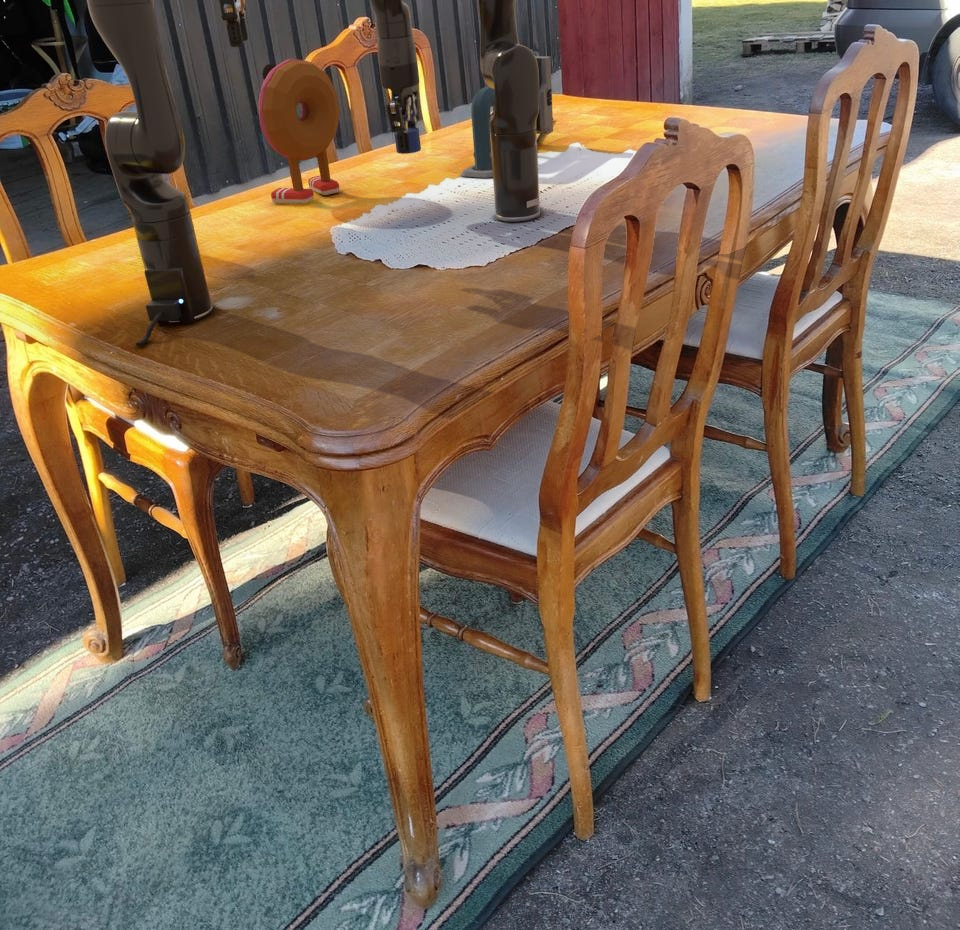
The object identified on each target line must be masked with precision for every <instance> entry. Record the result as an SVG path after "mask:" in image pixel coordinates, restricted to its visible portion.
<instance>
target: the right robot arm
mask: <svg viewBox="0 0 960 930" xmlns="http://www.w3.org/2000/svg"><path fill="white" fill-rule="evenodd" d="M369 3H370V6H371V9H372V12H373V14H374V15H373V16H374V25H375V32H376V39H377V41H376V42H377V57H378V65H379V73H380V80H381V81H380V82H381V86H382V88H383V89H386V90H390V91H391V93H390V94H391V97H390V102H387V103H386V105H385V106H386V111H387V115H388V116H387V117H388V120H389V124H390V131H391V133H393V134H394V133H395V134H397V140H398V148H399V152H401V153H404V152H409V151H410V145H409V137H408V127H416V128H417V126H418V121H420V106H419V91H418V89H413V87H416V86H418V85H419V84H420V75H419V65H418V57H417V47H416V43H415V39H414V38H415V37H414V33H413V24H412V15H411V11H410V7H409V5H408V4H407V3H406V2H404V1H403V0H369ZM477 6H478V7H477V8H478V15H479V65H480V66H479V67H480V73H481V76H482V79H483V80H484V82H485V84H486V86H489V87H490V88H492V89H493V90H494V91H495V111H494V114H493V115H492V116H491V117H490V120H489V124H490V139H491V153H492V168H493V177H492V182H493V196H494V197H493V198H494V217H495V219H497V220H498V221H501V222H508V223H519V222H528V221H531V220H534V219H536V218H538V217H540V216H541V207H540V204H541V203H540V181H539V179H540V178H539V160H538V158H539V157H538V144H539V142H540V140H541V139H542V137H543V136H544V134H536V119H537V116H538V113H539V70H538V64H537V60H536V57H535V56H536V55H535V53H534V52H533V51H532V50H531V49H530V48H529V47H527V46H525V45H522V44H520V42H519V36H518V29H517V28H518V27H517V18H516V17H517V16H516V12H517V11H516V10H517V9H516V8H517V0H477ZM537 135H538V136H537Z"/></svg>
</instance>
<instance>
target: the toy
mask: <svg viewBox="0 0 960 930" xmlns="http://www.w3.org/2000/svg"><path fill="white" fill-rule="evenodd" d="M261 75H262V79H263V82H262V84H261V87H260V93H259V98H258V103H257V104H258V114H259V124H260V126H259V127H260V128H261V131H262V134H263V136H264V138H265V139H266V141H267V143H268V144H269V147H271V148H272V149H273V150H274V151H275V152H276V153H278V154H279V155H281V156H282V157H284V158H286V159H287V162H288V169H289V175H290V180H291V184H292V187H279V188H276V189H273V190H272V191H271V192H270V197H271V202H272V203H274V204H294V205H295V204H299V205H301V204H302V205H304V204H308V203H310V202H312V201H314V199H315V194H314V192H316V193H318V194H320V195H323V196H329V195H333V194H337V193H339V192H340V190H341V189H340V184H339V181H337V180H335V179H333V178H331V174H330V173H331V172H330V166H329V157H328V151H327V150H328V148H329V146H330V144H331V143H332V141H333V140H334V138H335V136H336V134H337V132H338V125H339V121H340V116H341V112H340V105H339V104H340V103H339V98H338V96H339V95H338V91H337V90H336V88H335V86H334V84H333V82H332V80H331V79H330V76H329V75H328V74H327V73H326V72H324V71H323V70H322V69H321V68H319V67H318V66H317V65H316V64H314V63H312V62H311V61H308V60H303V59H298V58H286V59H285V60H283V61H282V62H280V63H279V64H277V65H276V66H275V65H273V64H272V63H271V64H270V63H268V64H265V65H264V67H263V68H262V73H261ZM299 104H300V105H301V109H302V111H301V116H300V117H299V116H298V114H297V107H298V105H299ZM316 157H317V158H316ZM313 158H316V159H317V165H318V171H319V175H316V176H312V177H310V178H309V179H308V181H307V183H308V188H304V185H303V179H302V173H301V169H300V161H307V160H311V159H313Z"/></svg>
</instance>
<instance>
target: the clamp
mask: <svg viewBox="0 0 960 930" xmlns="http://www.w3.org/2000/svg"><path fill="white" fill-rule="evenodd" d="M535 57H536V60H537V64H538V70H539V113H538V116H537V119H536V134H537V135H540V134H543V135H550V134H551V133H554V132H553V131H554V117H553V90H552V89H553V88H552V62H551V61H552V60H551V56H547V55H545V56H544V55H541V56H539V55H538V56H537V55H535ZM491 107H492V111H491ZM470 111H471V112H470V113H471V114H470V115H471V127H472V138H473V139H472V140H473V155H472V156H473V158H474V164H473V165H471V166H469V167H467V168H465V169H463V170H462V172H461V174H460V176H462V177H471V178H483V179H484V178H485V179H486V178H493V168H492V153H491V139H490V124H489V120H490V117H491V116H492V115H493V114H494V111H495V91H494V90H493V89H492V88H490V87H489V86H488V85H486V86H484V87H481V88H480V90H478V91H477V93H476V94H475V95H474V96H473V98H472V101H471V108H470Z"/></svg>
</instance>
